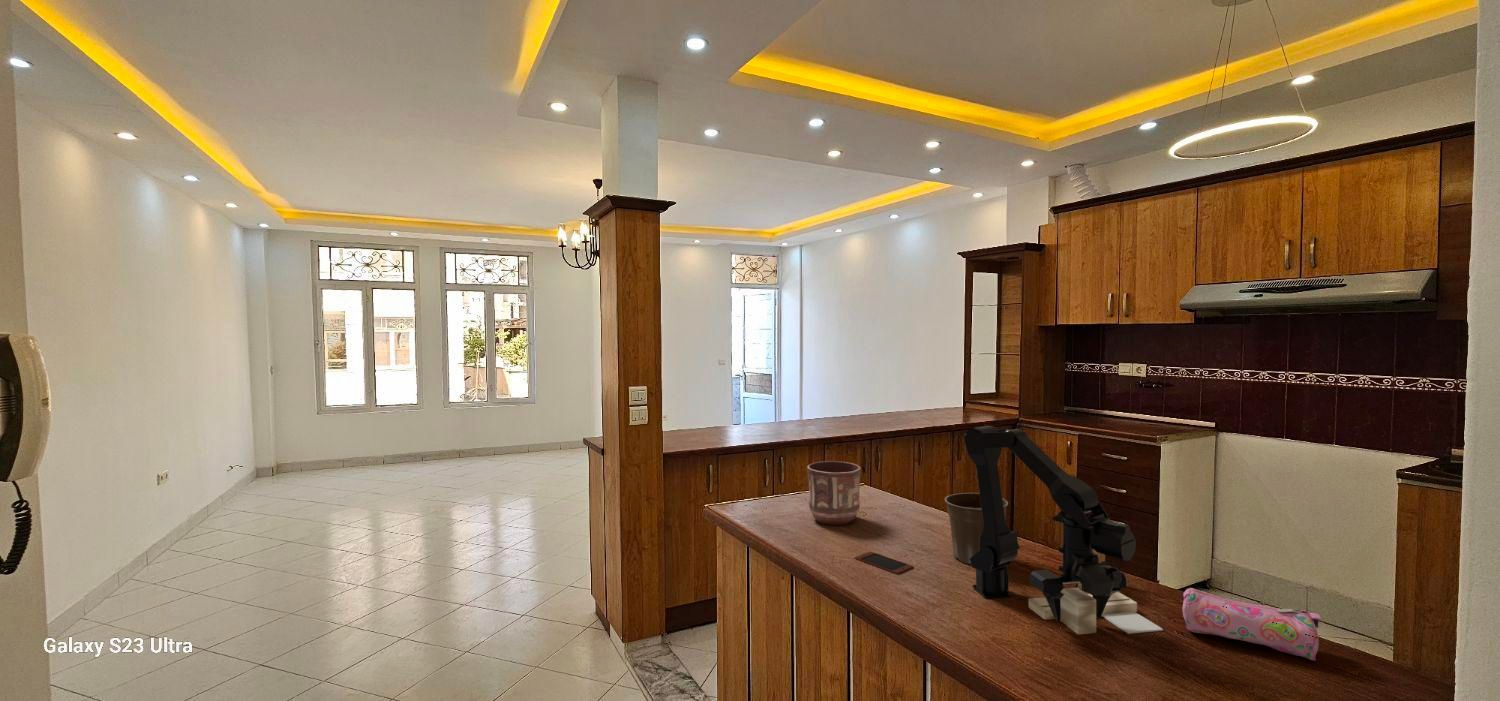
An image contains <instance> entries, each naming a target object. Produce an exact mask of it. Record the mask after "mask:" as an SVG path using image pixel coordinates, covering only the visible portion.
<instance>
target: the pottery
mask: <svg viewBox="0 0 1500 701" xmlns="http://www.w3.org/2000/svg"><path fill="white" fill-rule="evenodd" d="M806 472H807V477H808V478H807V481H808V506H809V511H810V512H811V514H812V516H813V518H814V519H815V520H816V521H817V522H819V523H820V524H822V523H823V525H827V524H829V526H843V525H844V524H845V525H848V524H850V523H851V522H853V520H854V519H855V518H856V517H857V516H858V513H859V511H860V506H861V500H860V498H861V496H860V489H861V488H860V487H861V486H860V485H861V475H862V467H861V466H860V465H858V464H856V463H853V462H846V461H836V460H824V461H823V460H822V461H816V462H813V463H810V464H808V465H807V466H806Z"/></svg>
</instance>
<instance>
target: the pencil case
mask: <svg viewBox="0 0 1500 701" xmlns="http://www.w3.org/2000/svg"><path fill="white" fill-rule="evenodd" d="M1182 594H1183V603H1182V615H1183V619H1184V622H1185V626H1186V629H1187V630H1188V631H1189V632H1192V633H1196V634H1205V635H1212V636H1219V637H1223V638H1226V639H1233V640H1239V641H1244V642H1247V643H1250V644H1255V645H1261V646H1262V645H1264V646H1266V647H1268V648H1269V647H1270V648H1271V649H1273V650H1276V651H1278V652H1280V653H1281V652H1282V653H1286V654H1290V655H1293V656H1297V657H1302V658H1305V659H1308V660H1310V661H1312V662H1313V661H1314V662H1315V661H1316V656H1317V654H1318V651H1319V645H1320V644H1319V633H1318V632H1319V631H1318V629H1317V628H1319V621H1322V617H1321V615H1320V614H1318V613H1315V612H1309V611H1307V610H1305V609H1303V610H1302V609H1300V608H1294V609H1292V608H1278V607H1272V606H1267V605H1261V604H1255V603H1249V602H1248V603H1247V602H1244V601H1243V602H1242V601H1235V600H1232V599H1228V598H1224V597H1221V596H1217V595H1215V594H1212V593H1208V592H1206V591H1202V590H1199V589H1195V588H1193V587H1189V588H1186V589H1185V591H1184V592H1183V593H1182ZM1223 606H1224V607H1223ZM1226 607H1227V608H1226ZM1272 622H1274V623H1272ZM1276 623H1277V624H1276ZM1305 634H1307V635H1305ZM1308 635H1310V636H1308ZM1312 636H1314V637H1312ZM1315 637H1318V638H1315Z"/></svg>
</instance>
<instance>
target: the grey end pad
mask: <svg viewBox="0 0 1500 701" xmlns="http://www.w3.org/2000/svg"><path fill="white" fill-rule="evenodd" d="M1101 617H1102V618H1103V617H1104V618H1103V619H1105V621H1108V622H1110V623H1111V624H1112V625H1114V626H1115V627H1117V628H1119V629H1120V630H1122V631H1123V632H1124V633H1126V634H1128V635H1130V634H1138V633H1139V634H1140V633H1149V632H1150V633H1151V632H1163V631H1164V628H1162V627H1161V626H1159V625H1158V624H1156V623H1154V622H1152V621H1151V620H1149V619H1147V618H1145V617H1144V616H1142V615H1141V614H1139V613H1138V612H1126V613H1115V614H1103V615H1101Z"/></svg>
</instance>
